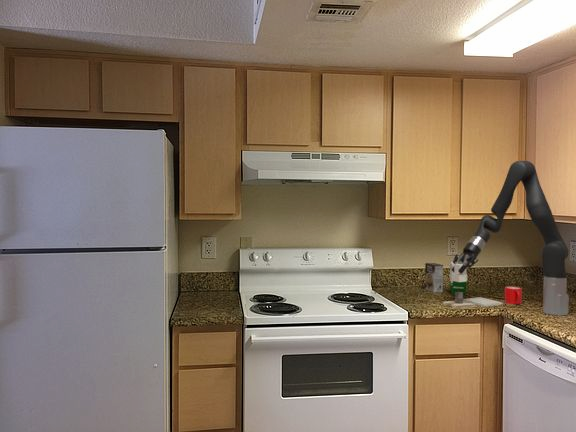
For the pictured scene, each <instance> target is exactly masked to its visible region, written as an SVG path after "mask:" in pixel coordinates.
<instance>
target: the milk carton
mask: <svg viewBox="0 0 576 432" xmlns="http://www.w3.org/2000/svg"><path fill="white" fill-rule="evenodd" d="M460 261H461V260H460ZM461 262H462V261H461ZM458 264H459V263H458ZM453 266H454V263H453V261H450V264H449V288H450V293H451V295H452V296H455V292H463V296H466V293H467V292H466V291H467V282H456V281H452V274H454V272H453V271H452V268H453ZM465 274H467V268H466V269H465ZM467 275H468V274H467Z"/></svg>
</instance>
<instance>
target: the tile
mask: <svg viewBox="0 0 576 432" xmlns="http://www.w3.org/2000/svg"><path fill="white" fill-rule="evenodd" d="M463 301H465V302H468V303H472V304H476V305H477V306H481V307H492V306H493V307H494V306H501V305H503V302H502V301H498V300H493V299H490V298H486V297H485V298H484V297H481V296H480V297H479V296H478V297H472V298H471V297H470V298H463Z"/></svg>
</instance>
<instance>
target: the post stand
mask: <svg viewBox="0 0 576 432" xmlns="http://www.w3.org/2000/svg"><path fill="white" fill-rule="evenodd" d="M463 299H464V295H463V292H455V295H454V300H450V301H449V300H448V301H442V305H444V306H448V307H450V308H454V309H458V310H460V309H461V310H462V309H470V308H475V307H477V306H476V305H477V304H473V303H469V302H465V301H463Z"/></svg>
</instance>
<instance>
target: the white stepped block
mask: <svg viewBox="0 0 576 432" xmlns="http://www.w3.org/2000/svg"><path fill="white" fill-rule="evenodd" d="M461 266H463V264H454V274H452V281H456V282H466V283H467V282H468V274H465V270H464V272H463V273H462V274H461V273H459V271H458V270H459V269H460V268H461Z"/></svg>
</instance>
